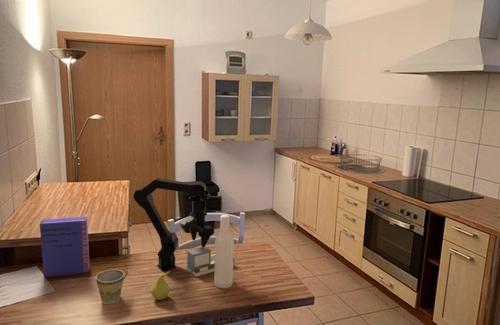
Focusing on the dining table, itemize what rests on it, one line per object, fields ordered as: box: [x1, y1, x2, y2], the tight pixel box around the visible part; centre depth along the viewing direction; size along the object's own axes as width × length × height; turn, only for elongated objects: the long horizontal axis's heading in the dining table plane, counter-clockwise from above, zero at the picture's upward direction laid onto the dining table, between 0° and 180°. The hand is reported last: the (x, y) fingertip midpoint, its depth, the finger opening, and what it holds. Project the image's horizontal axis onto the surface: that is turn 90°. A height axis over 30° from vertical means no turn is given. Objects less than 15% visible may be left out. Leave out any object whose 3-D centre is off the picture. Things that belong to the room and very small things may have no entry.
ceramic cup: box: [95, 268, 129, 305], centre depth 143 cm, size 13×10×10 cm
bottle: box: [213, 214, 235, 289], centre depth 154 cm, size 8×8×30 cm
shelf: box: [185, 253, 235, 277], centre depth 171 cm, size 20×10×4 cm, turn 126°
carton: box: [186, 246, 212, 272], centre depth 167 cm, size 5×9×8 cm, turn 126°
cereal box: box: [39, 216, 91, 278], centre depth 160 cm, size 17×5×24 cm, turn 108°
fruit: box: [151, 270, 171, 301], centre depth 144 cm, size 7×8×12 cm
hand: (198, 243), depth 167 cm, fingers open, 9 cm apart
